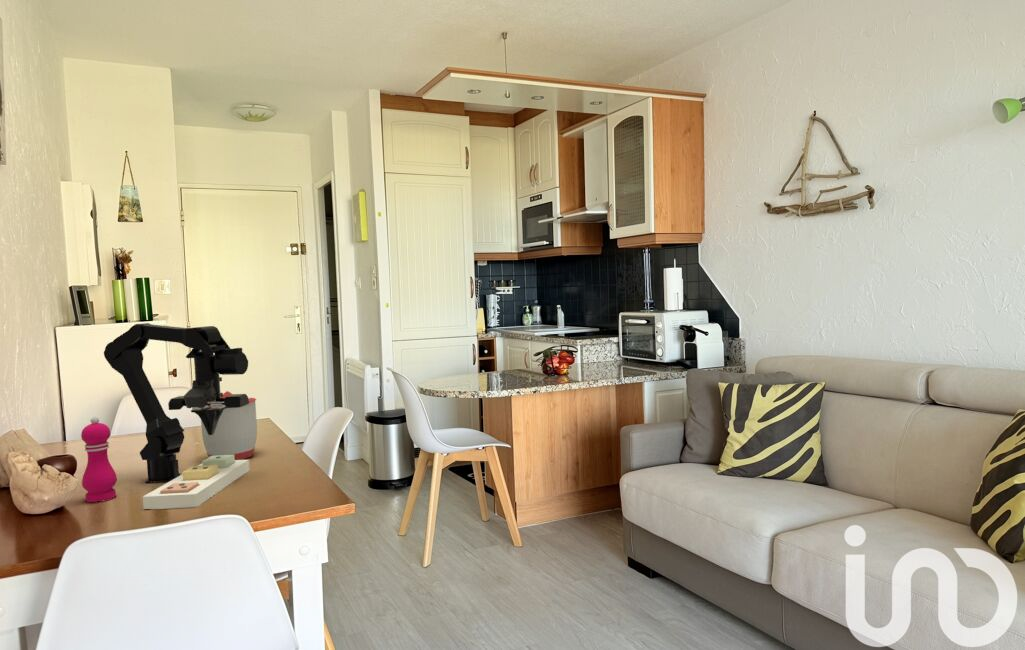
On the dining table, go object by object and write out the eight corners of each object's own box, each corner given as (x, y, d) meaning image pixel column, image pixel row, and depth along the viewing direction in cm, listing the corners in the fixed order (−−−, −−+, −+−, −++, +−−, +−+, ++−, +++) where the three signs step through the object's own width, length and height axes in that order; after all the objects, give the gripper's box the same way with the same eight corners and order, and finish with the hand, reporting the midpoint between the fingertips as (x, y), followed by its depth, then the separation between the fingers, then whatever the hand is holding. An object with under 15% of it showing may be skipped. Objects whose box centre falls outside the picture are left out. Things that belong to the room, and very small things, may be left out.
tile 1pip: (202, 469, 179) (202, 460, 179) (212, 464, 185) (211, 454, 185) (225, 468, 179) (225, 459, 179) (234, 462, 185) (234, 453, 185)
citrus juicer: (272, 450, 211) (268, 385, 210) (241, 465, 194) (236, 394, 193) (226, 450, 214) (222, 387, 213) (191, 465, 197) (186, 395, 196)
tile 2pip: (183, 481, 168) (182, 471, 168) (194, 475, 174) (193, 465, 174) (207, 480, 168) (206, 470, 168) (217, 473, 174) (217, 464, 174)
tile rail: (143, 509, 155) (142, 496, 155) (205, 472, 187) (204, 461, 187) (197, 507, 155) (196, 494, 155) (249, 470, 187) (248, 459, 187)
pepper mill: (93, 505, 161) (86, 420, 160) (77, 501, 165) (70, 418, 164) (124, 496, 167) (118, 415, 166) (108, 493, 171) (102, 413, 170)
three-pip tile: (161, 500, 157) (160, 489, 157) (173, 493, 163) (172, 482, 163) (187, 499, 157) (186, 488, 157) (199, 491, 163) (198, 481, 163)
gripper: (154, 380, 170) (158, 442, 170) (228, 377, 169) (232, 440, 170) (178, 374, 181) (181, 433, 182) (247, 372, 180) (251, 431, 181)
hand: (211, 434), depth 178 cm, fingers closed
